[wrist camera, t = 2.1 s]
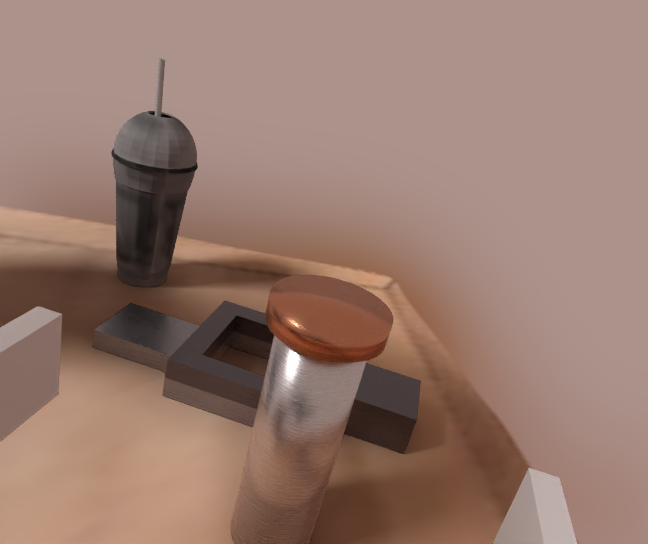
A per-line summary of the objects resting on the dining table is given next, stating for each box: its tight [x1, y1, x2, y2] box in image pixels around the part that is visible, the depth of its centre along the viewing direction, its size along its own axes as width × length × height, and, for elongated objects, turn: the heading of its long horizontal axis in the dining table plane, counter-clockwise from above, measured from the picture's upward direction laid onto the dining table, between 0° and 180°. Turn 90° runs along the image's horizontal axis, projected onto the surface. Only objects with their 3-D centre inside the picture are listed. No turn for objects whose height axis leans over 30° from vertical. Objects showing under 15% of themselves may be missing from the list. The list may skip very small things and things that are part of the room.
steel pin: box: [231, 275, 393, 544], centre depth 27 cm, size 6×6×14 cm
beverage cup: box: [112, 58, 197, 287], centre depth 49 cm, size 7×7×20 cm
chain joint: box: [93, 301, 421, 454], centre depth 41 cm, size 24×10×3 cm, turn 77°
